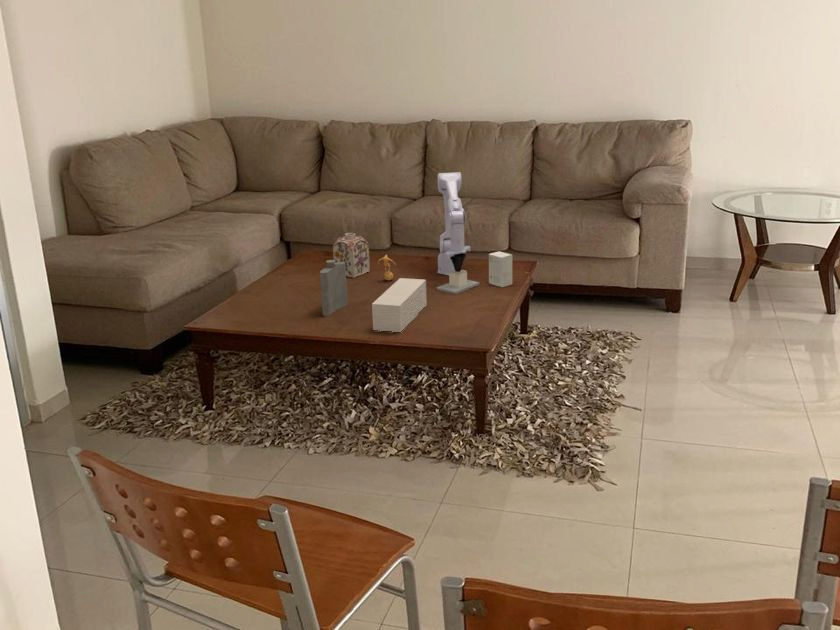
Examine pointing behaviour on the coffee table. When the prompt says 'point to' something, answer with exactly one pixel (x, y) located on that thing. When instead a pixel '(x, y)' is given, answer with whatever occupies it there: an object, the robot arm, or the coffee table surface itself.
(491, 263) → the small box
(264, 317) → the coffee table surface
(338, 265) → the hip flask
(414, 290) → the long white block
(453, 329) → the coffee table surface
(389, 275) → the figurine
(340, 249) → the decorative jar
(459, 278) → the beige cardboard cube
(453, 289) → the base board
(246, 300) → the coffee table surface
